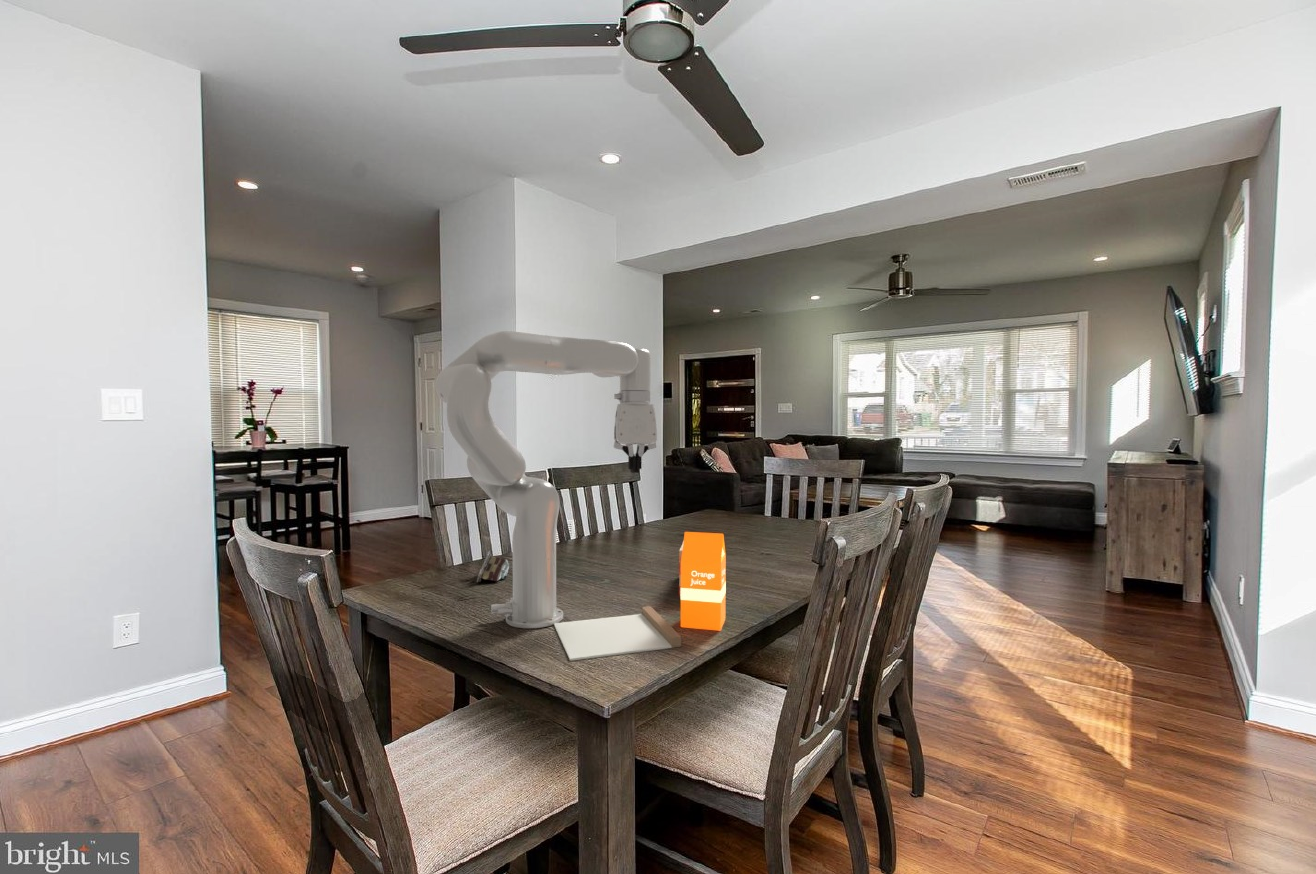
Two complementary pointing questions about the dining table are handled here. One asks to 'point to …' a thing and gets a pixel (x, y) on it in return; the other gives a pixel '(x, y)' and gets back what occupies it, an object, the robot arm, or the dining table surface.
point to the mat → (617, 635)
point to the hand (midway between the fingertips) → (634, 472)
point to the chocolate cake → (493, 568)
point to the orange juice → (703, 581)
